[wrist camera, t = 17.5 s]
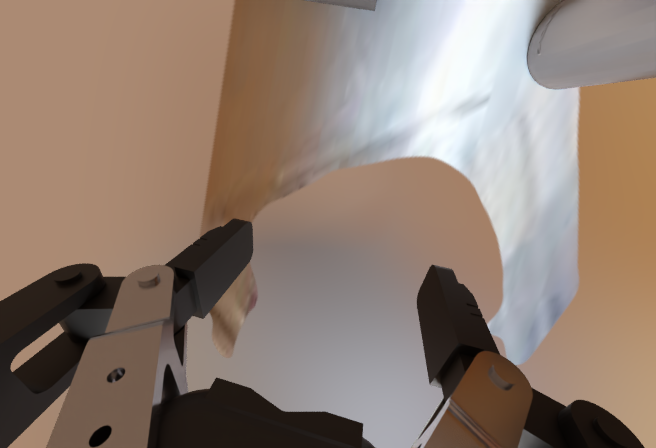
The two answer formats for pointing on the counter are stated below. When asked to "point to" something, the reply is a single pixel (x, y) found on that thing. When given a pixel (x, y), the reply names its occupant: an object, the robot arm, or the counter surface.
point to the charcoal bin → (351, 3)
